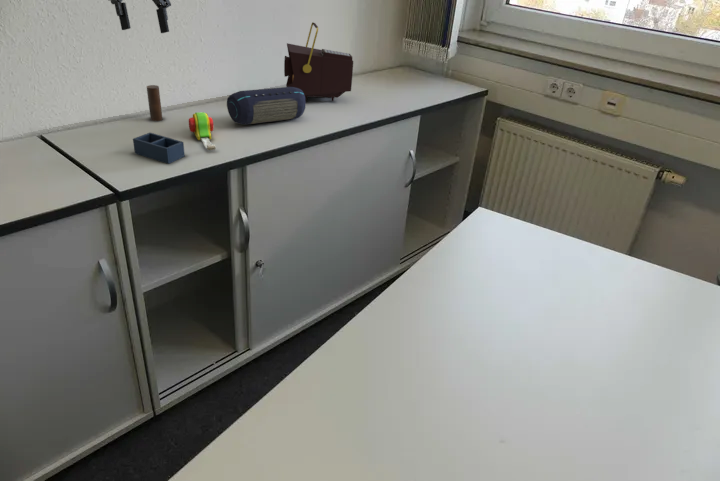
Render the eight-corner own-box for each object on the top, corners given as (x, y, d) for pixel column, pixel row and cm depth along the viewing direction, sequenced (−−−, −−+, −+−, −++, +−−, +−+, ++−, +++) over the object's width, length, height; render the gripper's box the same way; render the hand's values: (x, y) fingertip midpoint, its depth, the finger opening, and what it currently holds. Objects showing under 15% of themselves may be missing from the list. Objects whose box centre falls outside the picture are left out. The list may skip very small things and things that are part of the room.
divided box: (151, 146, 146) (149, 132, 144) (184, 156, 143) (183, 141, 140) (134, 153, 142) (132, 138, 140) (168, 163, 138) (166, 148, 136)
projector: (282, 91, 199) (283, 19, 187) (344, 93, 204) (349, 23, 192) (285, 103, 185) (286, 26, 173) (351, 105, 190) (357, 30, 178)
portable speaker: (238, 130, 160) (237, 96, 155) (224, 120, 167) (223, 88, 162) (310, 121, 174) (312, 90, 169) (295, 112, 180) (295, 82, 176)
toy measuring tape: (208, 128, 162) (207, 106, 159) (223, 150, 147) (222, 126, 144) (186, 129, 159) (184, 107, 156) (199, 151, 144) (197, 128, 141)
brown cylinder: (148, 120, 163) (144, 87, 158) (154, 117, 166) (150, 84, 161) (158, 121, 163) (154, 88, 158) (164, 118, 166) (160, 85, 161)
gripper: (98, -65, 135) (117, 24, 140) (174, -47, 156) (188, 31, 161) (79, -57, 139) (99, 30, 144) (156, -40, 160) (170, 35, 165)
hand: (146, 31), depth 152 cm, fingers open, 13 cm apart
